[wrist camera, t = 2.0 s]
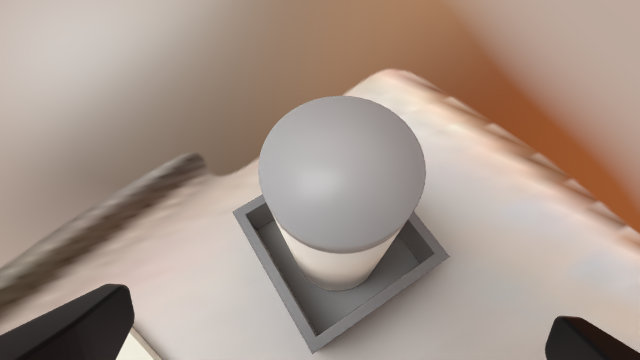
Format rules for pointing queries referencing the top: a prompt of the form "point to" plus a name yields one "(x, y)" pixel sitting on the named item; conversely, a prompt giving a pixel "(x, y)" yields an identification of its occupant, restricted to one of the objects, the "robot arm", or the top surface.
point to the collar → (427, 256)
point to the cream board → (136, 348)
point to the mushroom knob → (341, 185)
